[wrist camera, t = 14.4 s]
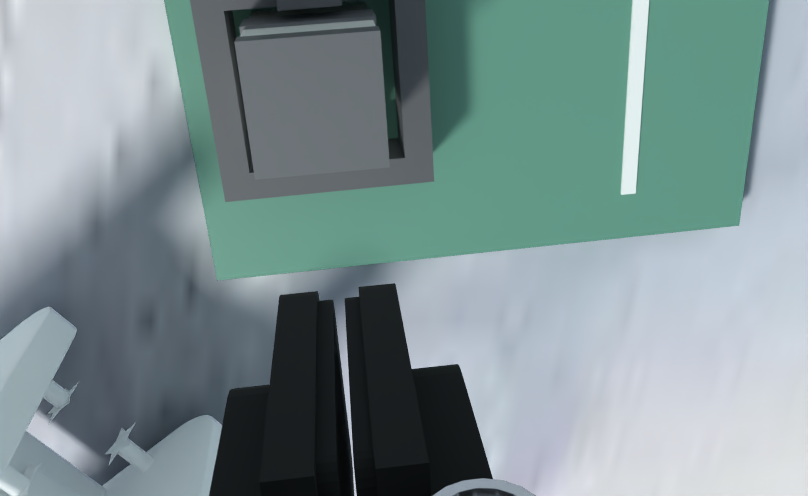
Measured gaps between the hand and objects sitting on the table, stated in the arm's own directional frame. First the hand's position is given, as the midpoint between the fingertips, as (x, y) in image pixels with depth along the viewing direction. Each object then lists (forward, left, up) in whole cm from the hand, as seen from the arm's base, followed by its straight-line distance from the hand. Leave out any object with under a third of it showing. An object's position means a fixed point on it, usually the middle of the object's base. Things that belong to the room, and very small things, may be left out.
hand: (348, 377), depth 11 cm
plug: (+1, 0, -19) cm, 19 cm away
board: (0, -6, -20) cm, 21 cm away
